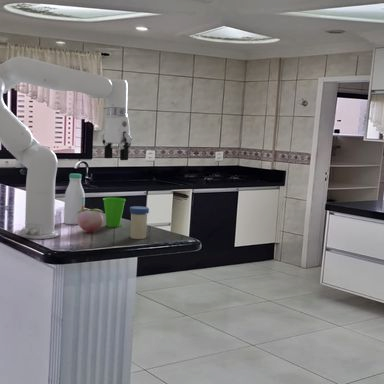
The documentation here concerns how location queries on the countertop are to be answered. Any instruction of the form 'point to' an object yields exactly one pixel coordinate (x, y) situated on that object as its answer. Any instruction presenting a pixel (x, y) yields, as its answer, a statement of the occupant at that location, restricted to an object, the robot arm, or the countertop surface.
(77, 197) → the milk bottle
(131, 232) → the jar
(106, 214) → the cup
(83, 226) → the decorative fruit
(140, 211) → the jar lid
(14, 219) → the countertop surface
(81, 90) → the robot arm
